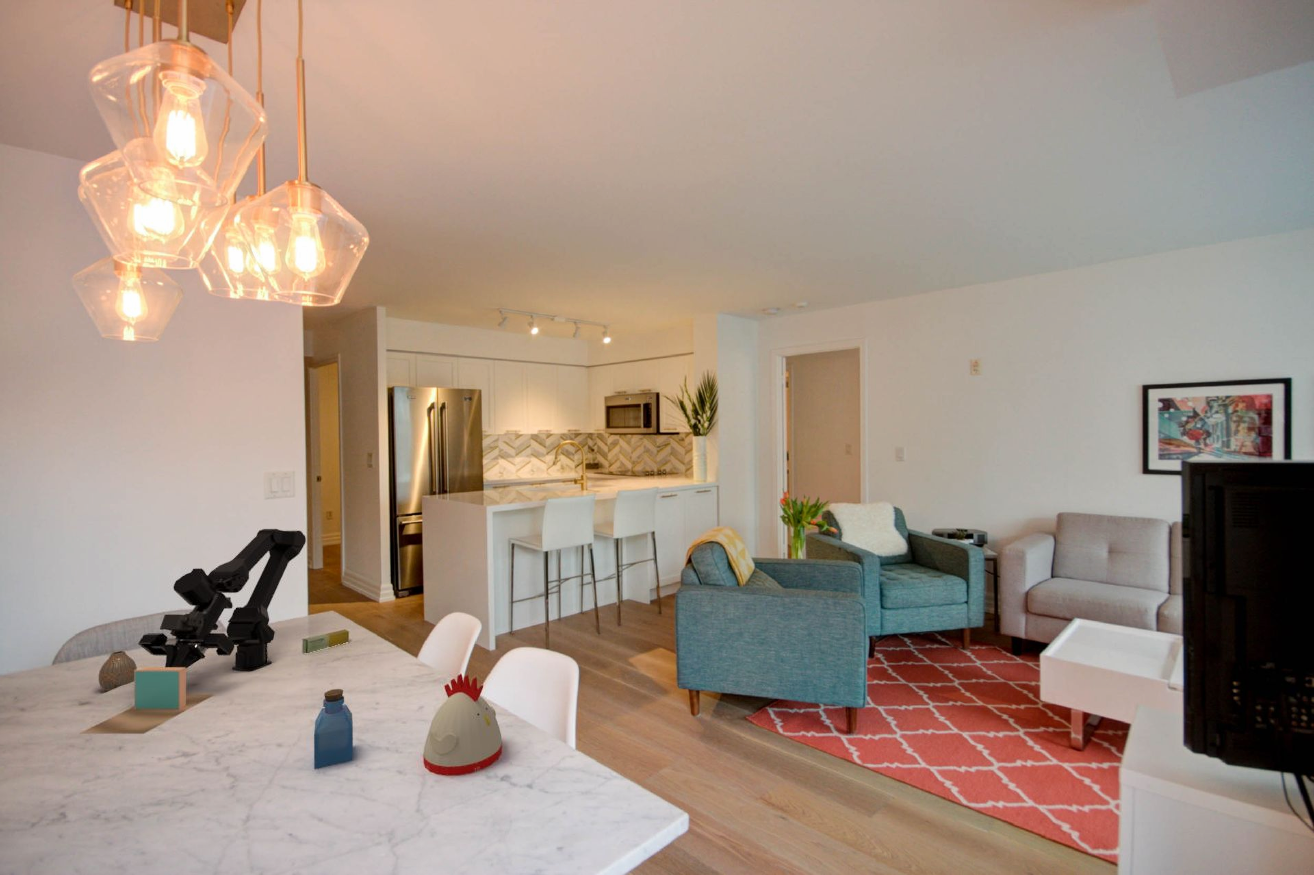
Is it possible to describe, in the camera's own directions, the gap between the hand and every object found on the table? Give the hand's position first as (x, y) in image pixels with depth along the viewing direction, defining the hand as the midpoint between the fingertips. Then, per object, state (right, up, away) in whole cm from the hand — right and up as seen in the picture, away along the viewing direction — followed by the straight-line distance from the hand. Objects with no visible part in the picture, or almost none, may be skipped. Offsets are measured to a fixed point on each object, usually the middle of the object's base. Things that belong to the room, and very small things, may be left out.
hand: (165, 680), depth 133 cm
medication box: (+12, -8, +42) cm, 44 cm away
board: (0, -7, -3) cm, 8 cm away
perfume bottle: (+47, -7, -20) cm, 52 cm away
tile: (0, -5, -1) cm, 6 cm away
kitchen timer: (+71, -6, -20) cm, 74 cm away
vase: (-22, -7, +13) cm, 27 cm away
